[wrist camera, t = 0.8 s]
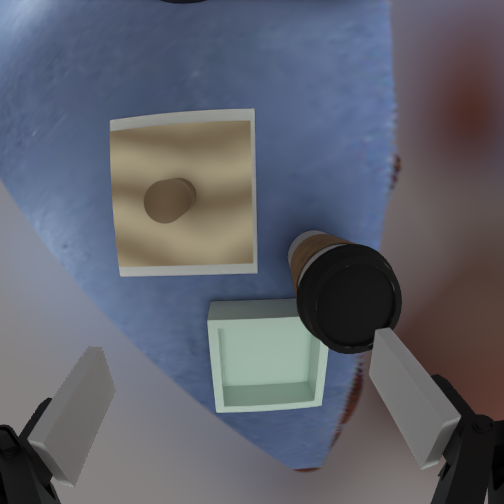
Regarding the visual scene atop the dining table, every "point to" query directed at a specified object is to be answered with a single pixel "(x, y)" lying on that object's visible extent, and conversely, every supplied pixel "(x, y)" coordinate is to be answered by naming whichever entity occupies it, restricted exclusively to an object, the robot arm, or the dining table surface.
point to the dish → (264, 356)
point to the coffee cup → (343, 291)
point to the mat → (245, 116)
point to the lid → (183, 194)
